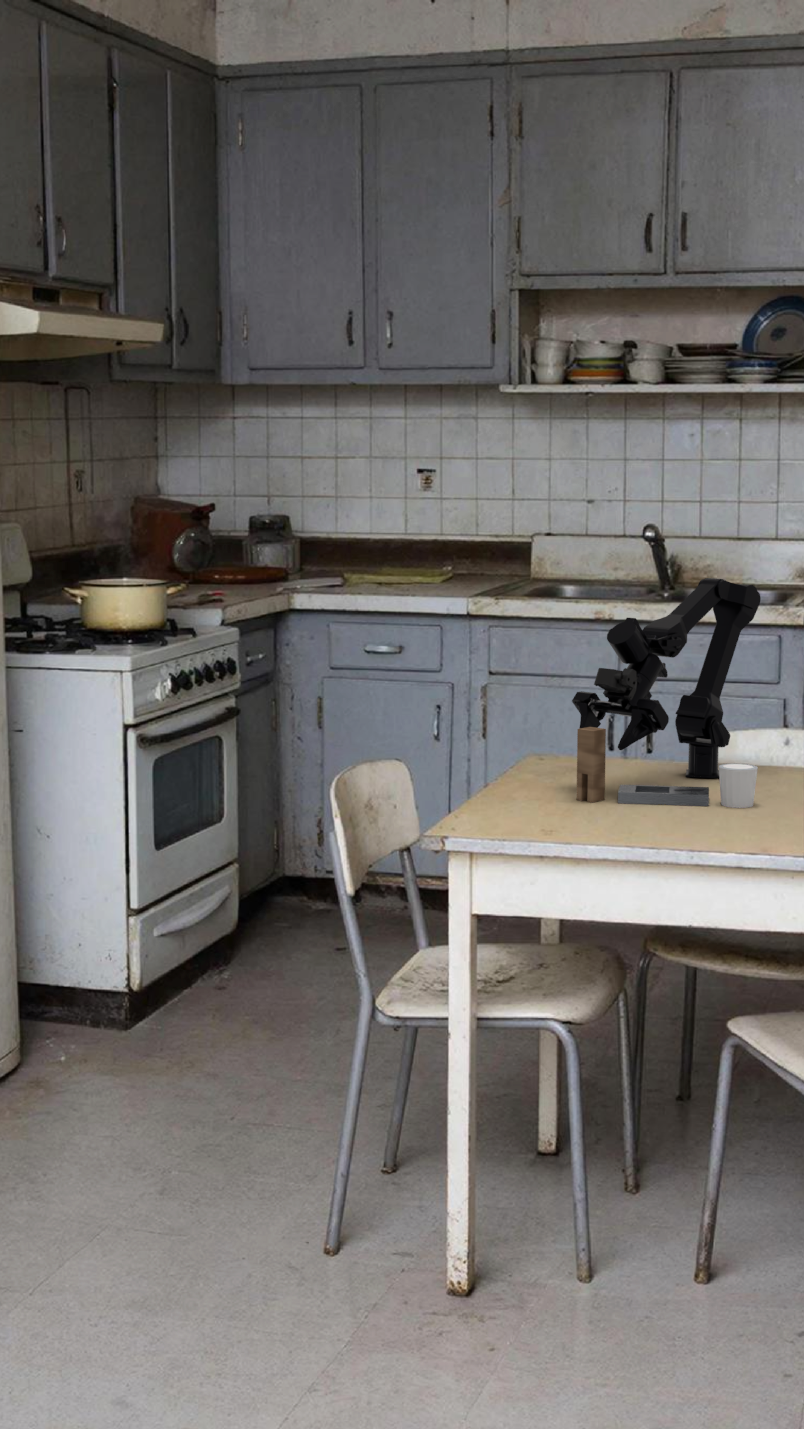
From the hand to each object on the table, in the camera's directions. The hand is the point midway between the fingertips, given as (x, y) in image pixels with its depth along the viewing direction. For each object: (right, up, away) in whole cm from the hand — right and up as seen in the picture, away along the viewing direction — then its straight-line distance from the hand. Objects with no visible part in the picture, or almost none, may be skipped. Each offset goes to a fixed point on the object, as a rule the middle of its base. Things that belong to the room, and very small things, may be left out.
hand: (599, 745), depth 304 cm
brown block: (-1, -10, 0) cm, 10 cm away
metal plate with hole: (+12, -10, -1) cm, 15 cm away
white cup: (+24, -11, -5) cm, 27 cm away
